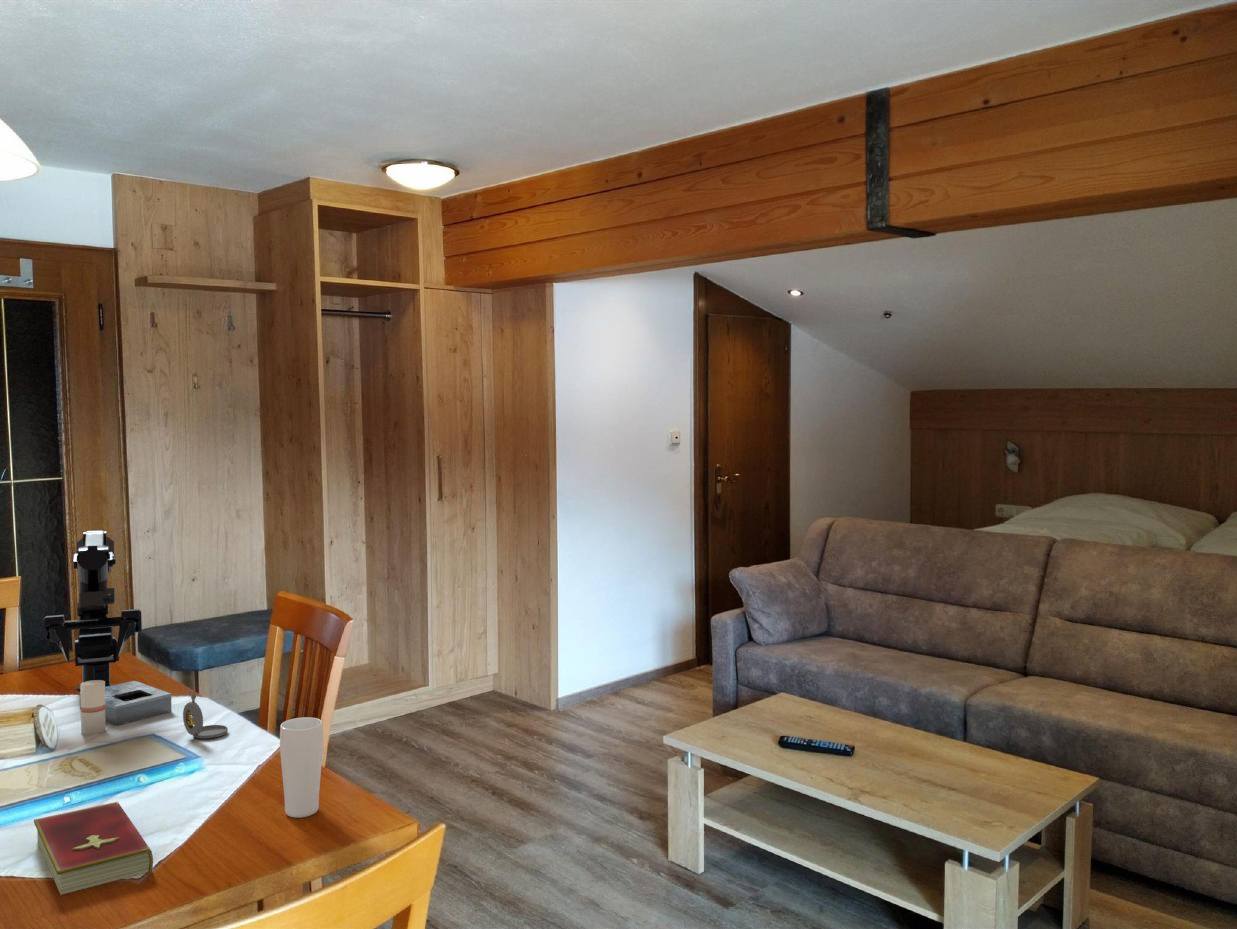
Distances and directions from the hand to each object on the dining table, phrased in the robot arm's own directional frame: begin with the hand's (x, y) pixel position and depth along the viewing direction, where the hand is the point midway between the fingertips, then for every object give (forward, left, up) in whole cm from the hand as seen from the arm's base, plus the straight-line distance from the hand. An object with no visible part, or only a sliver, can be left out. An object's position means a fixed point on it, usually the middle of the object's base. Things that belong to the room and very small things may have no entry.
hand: (93, 658), depth 204 cm
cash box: (-1, +7, -13) cm, 15 cm away
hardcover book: (+63, -29, -14) cm, 71 cm away
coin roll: (+7, -3, -13) cm, 15 cm away
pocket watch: (+27, +9, -13) cm, 31 cm away
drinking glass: (+74, -1, -13) cm, 75 cm away
